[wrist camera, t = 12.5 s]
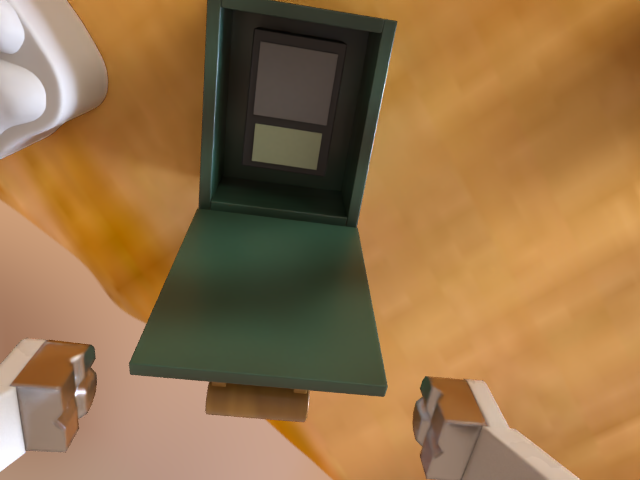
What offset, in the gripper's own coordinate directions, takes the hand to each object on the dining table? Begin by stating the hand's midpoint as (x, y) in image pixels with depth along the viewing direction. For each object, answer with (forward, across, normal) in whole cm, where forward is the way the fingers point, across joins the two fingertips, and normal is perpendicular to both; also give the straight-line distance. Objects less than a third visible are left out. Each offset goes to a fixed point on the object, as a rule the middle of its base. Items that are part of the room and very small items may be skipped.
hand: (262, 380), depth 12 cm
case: (+28, 0, -2) cm, 28 cm away
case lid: (+14, 0, +5) cm, 15 cm away
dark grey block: (+27, 0, -3) cm, 27 cm away
